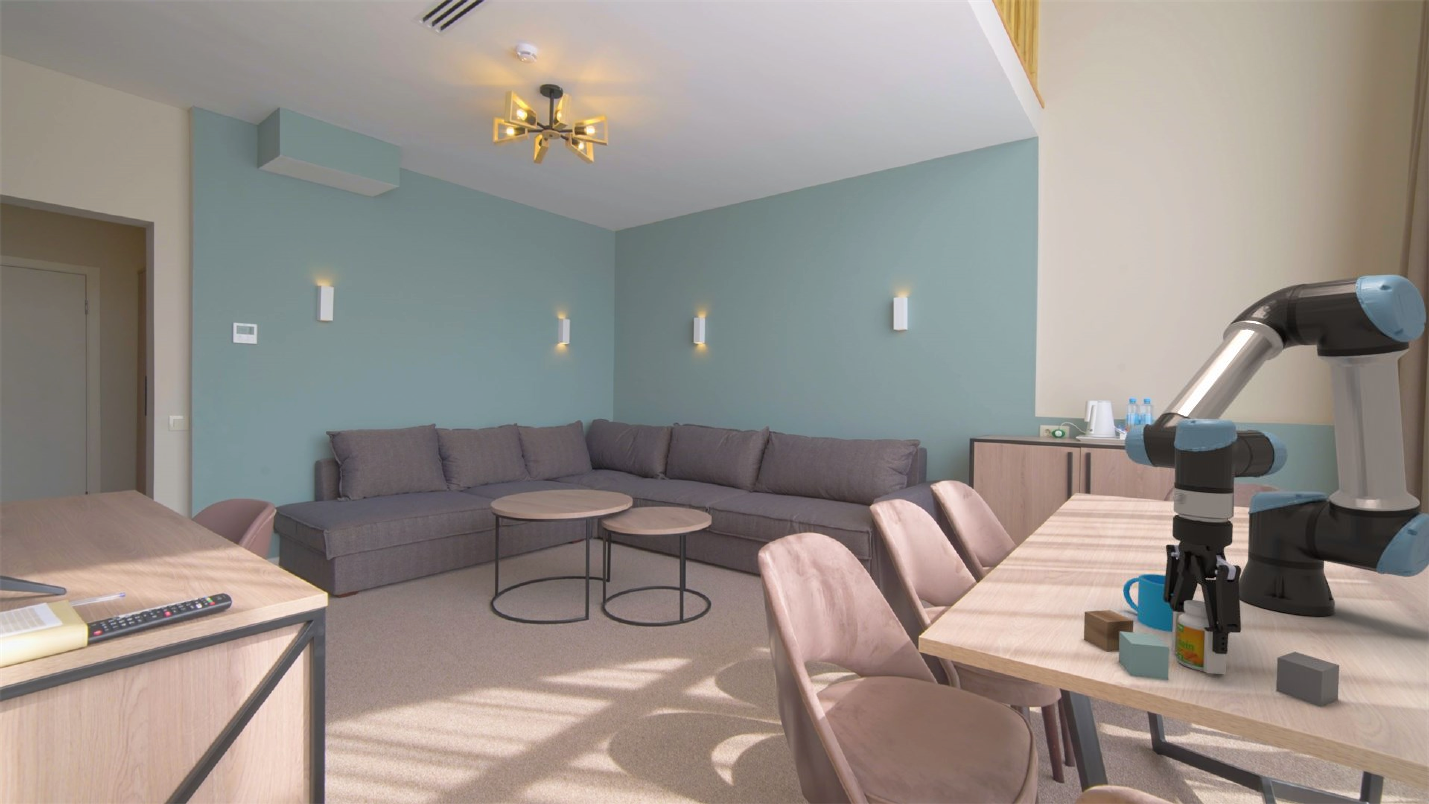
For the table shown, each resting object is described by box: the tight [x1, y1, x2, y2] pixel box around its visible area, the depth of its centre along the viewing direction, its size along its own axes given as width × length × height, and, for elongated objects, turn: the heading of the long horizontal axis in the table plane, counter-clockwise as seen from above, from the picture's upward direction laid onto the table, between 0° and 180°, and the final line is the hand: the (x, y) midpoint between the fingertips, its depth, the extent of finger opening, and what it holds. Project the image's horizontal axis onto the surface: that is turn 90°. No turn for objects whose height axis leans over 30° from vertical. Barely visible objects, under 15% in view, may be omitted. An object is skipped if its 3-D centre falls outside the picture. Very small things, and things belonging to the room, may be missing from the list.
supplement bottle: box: [1176, 599, 1218, 672], centre depth 101 cm, size 5×5×10 cm
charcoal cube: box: [1275, 651, 1340, 708], centre depth 91 cm, size 5×5×5 cm
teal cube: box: [1118, 631, 1170, 681], centre depth 99 cm, size 5×5×5 cm
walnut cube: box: [1083, 609, 1134, 652], centre depth 109 cm, size 5×5×5 cm
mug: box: [1122, 573, 1173, 633], centre depth 120 cm, size 12×8×8 cm
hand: (1197, 661), depth 101 cm, fingers open, 7 cm apart
